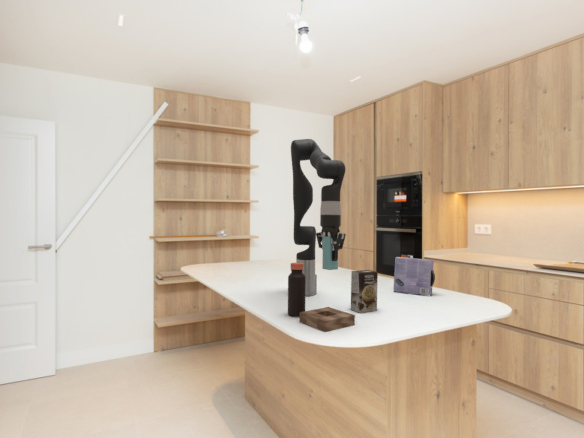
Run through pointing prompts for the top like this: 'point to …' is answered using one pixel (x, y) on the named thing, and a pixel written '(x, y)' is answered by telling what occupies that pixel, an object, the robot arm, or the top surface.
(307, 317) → the socket block
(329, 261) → the peg
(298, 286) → the bottle
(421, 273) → the cake pan box
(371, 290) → the coffee box
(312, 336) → the top surface
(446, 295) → the top surface
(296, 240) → the robot arm
